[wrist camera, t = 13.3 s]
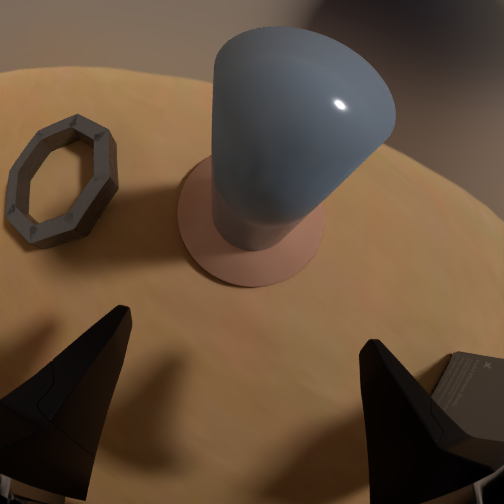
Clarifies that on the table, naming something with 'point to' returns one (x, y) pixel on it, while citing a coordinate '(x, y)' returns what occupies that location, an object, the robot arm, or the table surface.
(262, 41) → the blue-grey cylinder
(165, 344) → the table surface
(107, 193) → the dark grey octagonal ring
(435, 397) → the skincare box
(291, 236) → the terracotta coaster
